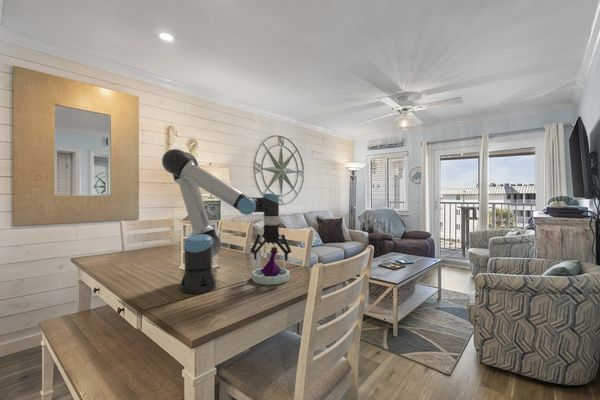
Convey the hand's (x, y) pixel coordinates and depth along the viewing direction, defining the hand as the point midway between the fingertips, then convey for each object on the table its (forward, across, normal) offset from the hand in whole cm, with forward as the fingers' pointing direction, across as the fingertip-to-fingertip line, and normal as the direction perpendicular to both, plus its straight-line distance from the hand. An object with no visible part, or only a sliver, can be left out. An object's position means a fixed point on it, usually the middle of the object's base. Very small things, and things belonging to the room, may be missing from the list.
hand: (270, 266), depth 145 cm
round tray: (+6, 0, 0) cm, 6 cm away
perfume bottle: (+5, 0, +1) cm, 5 cm away
